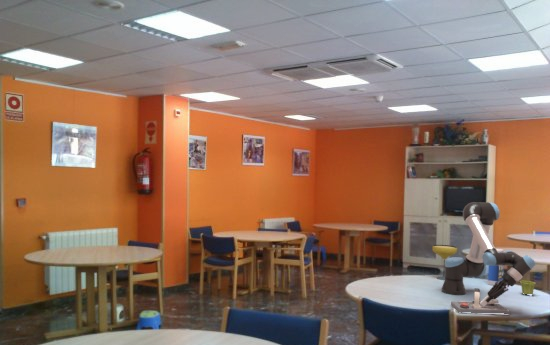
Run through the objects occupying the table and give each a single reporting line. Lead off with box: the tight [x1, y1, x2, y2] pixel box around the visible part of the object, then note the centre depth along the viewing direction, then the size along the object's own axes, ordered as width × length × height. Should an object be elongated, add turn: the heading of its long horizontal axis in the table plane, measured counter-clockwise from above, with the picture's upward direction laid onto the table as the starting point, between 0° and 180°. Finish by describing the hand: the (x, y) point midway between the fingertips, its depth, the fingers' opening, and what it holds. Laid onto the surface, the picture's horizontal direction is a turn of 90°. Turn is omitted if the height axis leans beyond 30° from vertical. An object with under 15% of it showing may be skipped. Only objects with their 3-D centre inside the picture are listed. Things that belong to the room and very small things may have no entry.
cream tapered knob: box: [472, 291, 481, 308], centre depth 275 cm, size 4×3×9 cm
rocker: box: [487, 298, 499, 304], centre depth 284 cm, size 6×4×2 cm, turn 86°
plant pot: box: [519, 280, 536, 295], centre depth 322 cm, size 9×9×9 cm
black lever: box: [471, 288, 481, 304], centre depth 284 cm, size 4×3×9 cm
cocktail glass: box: [432, 244, 458, 281], centre depth 367 cm, size 18×18×25 cm
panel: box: [450, 300, 511, 314], centre depth 280 cm, size 28×16×5 cm, turn 86°
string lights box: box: [487, 248, 505, 286], centre depth 353 cm, size 13×8×26 cm, turn 139°
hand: (481, 304), depth 275 cm, fingers closed
